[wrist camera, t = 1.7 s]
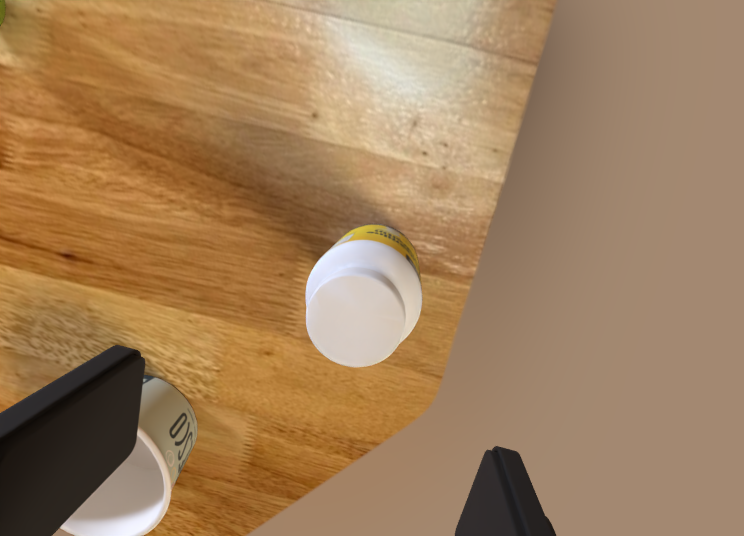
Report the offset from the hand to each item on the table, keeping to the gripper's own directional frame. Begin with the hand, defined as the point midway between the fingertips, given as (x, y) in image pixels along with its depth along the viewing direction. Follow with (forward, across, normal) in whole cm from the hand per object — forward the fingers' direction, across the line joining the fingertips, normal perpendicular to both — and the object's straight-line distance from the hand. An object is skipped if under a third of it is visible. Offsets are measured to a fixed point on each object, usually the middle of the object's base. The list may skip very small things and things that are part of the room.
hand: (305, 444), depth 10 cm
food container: (+20, +16, +19) cm, 32 cm away
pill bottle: (+20, 0, 0) cm, 20 cm away
